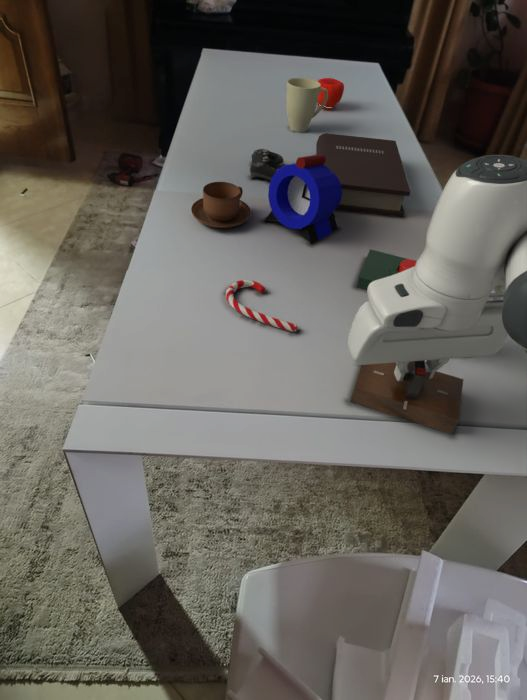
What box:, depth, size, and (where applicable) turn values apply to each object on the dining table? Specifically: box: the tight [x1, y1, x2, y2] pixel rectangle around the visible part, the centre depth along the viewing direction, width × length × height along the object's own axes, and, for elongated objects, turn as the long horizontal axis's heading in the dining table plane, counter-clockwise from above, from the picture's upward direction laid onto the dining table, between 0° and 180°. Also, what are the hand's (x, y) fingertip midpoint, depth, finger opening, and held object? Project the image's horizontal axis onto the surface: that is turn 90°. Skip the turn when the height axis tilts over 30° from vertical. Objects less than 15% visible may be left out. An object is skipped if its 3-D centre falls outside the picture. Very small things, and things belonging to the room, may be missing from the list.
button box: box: [356, 249, 407, 291], centre depth 91 cm, size 12×10×4 cm
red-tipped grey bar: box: [405, 360, 426, 400], centre depth 68 cm, size 6×1×5 cm, turn 171°
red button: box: [399, 258, 417, 273], centre depth 88 cm, size 4×4×2 cm
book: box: [315, 132, 412, 218], centre depth 119 cm, size 28×20×6 cm
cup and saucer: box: [191, 181, 252, 229], centre depth 102 cm, size 12×12×6 cm
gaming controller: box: [249, 148, 284, 182], centre depth 120 cm, size 12×8×5 cm, turn 178°
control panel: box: [350, 363, 464, 435], centre depth 71 cm, size 14×10×3 cm
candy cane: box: [225, 279, 298, 333], centre depth 83 cm, size 8×1×15 cm
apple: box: [316, 77, 345, 111], centre depth 156 cm, size 9×9×8 cm
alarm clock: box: [264, 154, 342, 246], centre depth 100 cm, size 12×12×15 cm
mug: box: [285, 77, 328, 133], centre depth 140 cm, size 11×10×12 cm
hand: (412, 376), depth 69 cm, fingers closed on red-tipped grey bar, 2 cm apart
